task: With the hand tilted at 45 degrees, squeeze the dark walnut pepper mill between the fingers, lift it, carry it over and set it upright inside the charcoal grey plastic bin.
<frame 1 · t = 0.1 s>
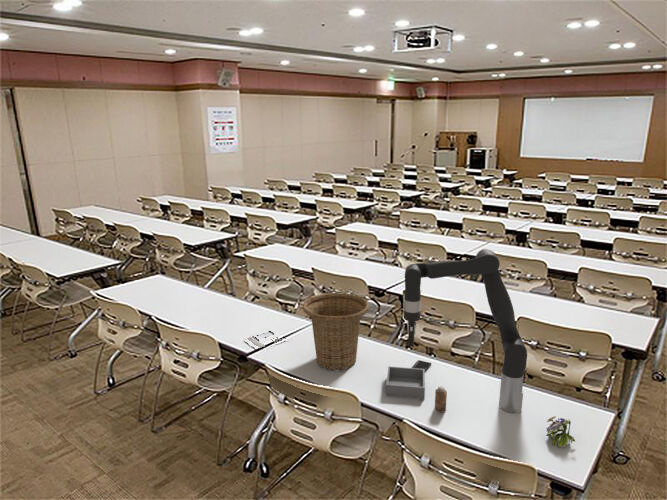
hand: (411, 342, 220), 29 cm above the table, tool pointing down, fingers open, 8 cm apart
office telephone: (266, 341, 292), on the table
wicker basket: (336, 361, 265), on the table
pepper mill: (440, 409, 220), on the table
passion flower: (559, 440, 198), on the table
phone: (420, 369, 256), on the table
bin: (405, 387, 238), on the table
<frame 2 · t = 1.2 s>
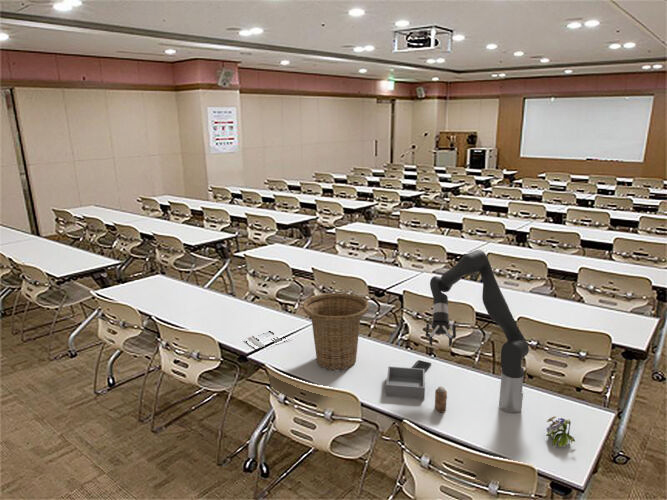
hand: (440, 345, 231), 22 cm above the table, tool tilted 45°, fingers open, 8 cm apart
nothing on the table moved.
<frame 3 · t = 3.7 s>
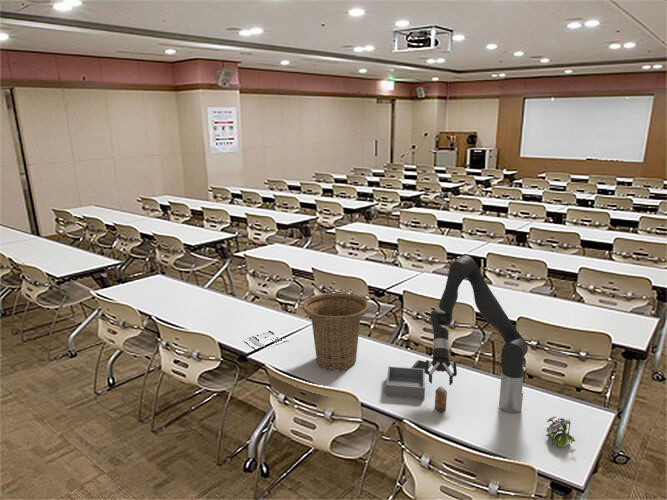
hand: (440, 384, 222), 10 cm above the table, tool tilted 45°, fingers open, 8 cm apart
nothing on the table moved.
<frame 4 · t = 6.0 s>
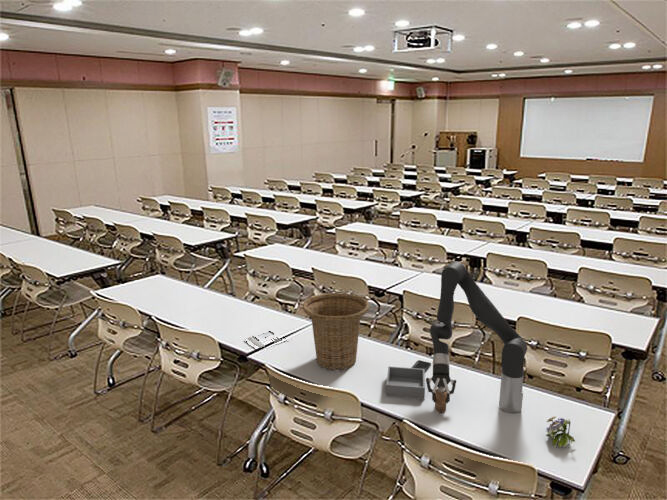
hand: (441, 402, 217), 5 cm above the table, tool tilted 45°, fingers closed on pepper mill, 5 cm apart
pepper mill: (440, 409, 220), on the table, touching gripper
everything else where it was.
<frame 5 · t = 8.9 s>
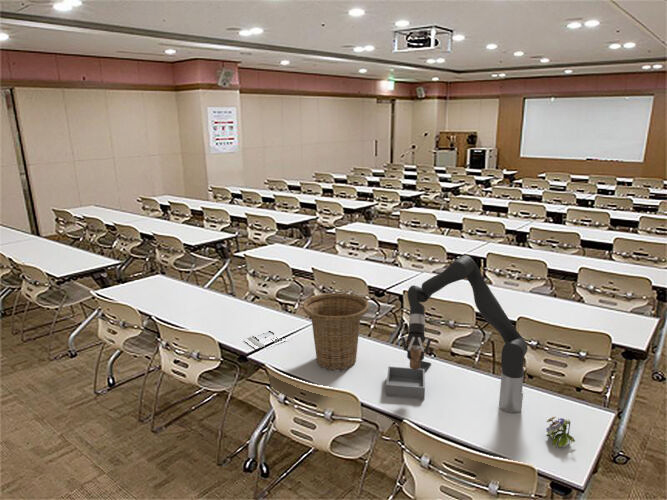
hand: (415, 359, 226), 19 cm above the table, tool tilted 45°, fingers closed on pepper mill, 5 cm apart
pepper mill: (414, 366, 229), point 14 cm above the table, touching gripper
everything else where it was.
when the fingers open (7 cm above the table, at t = 11.9 s): pepper mill drops 2 cm, resting on bin.
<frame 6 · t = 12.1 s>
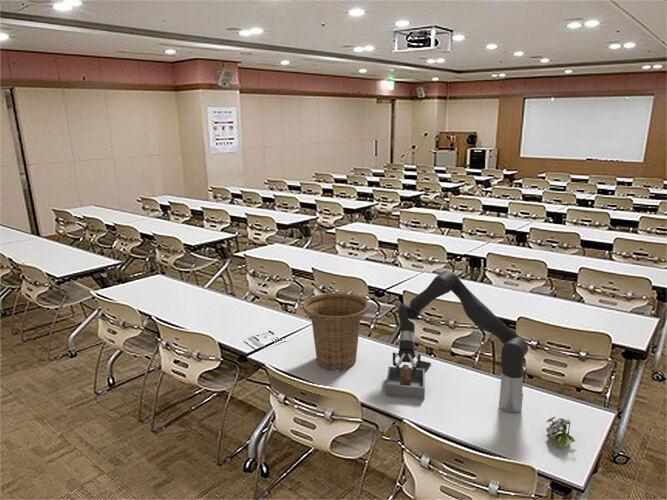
hand: (405, 374, 234), 8 cm above the table, tool tilted 45°, fingers open, 6 cm apart
pepper mill: (405, 385, 238), point 1 cm above the table, touching bin
everything else where it was.
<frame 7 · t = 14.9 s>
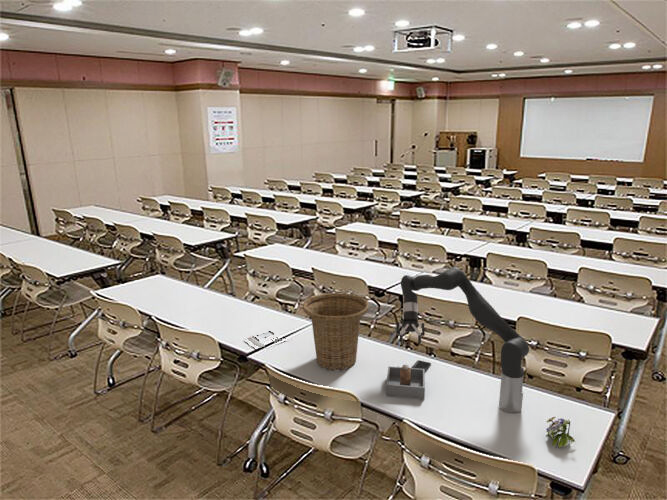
hand: (410, 343, 244), 18 cm above the table, tool tilted 40°, fingers open, 8 cm apart
nothing on the table moved.
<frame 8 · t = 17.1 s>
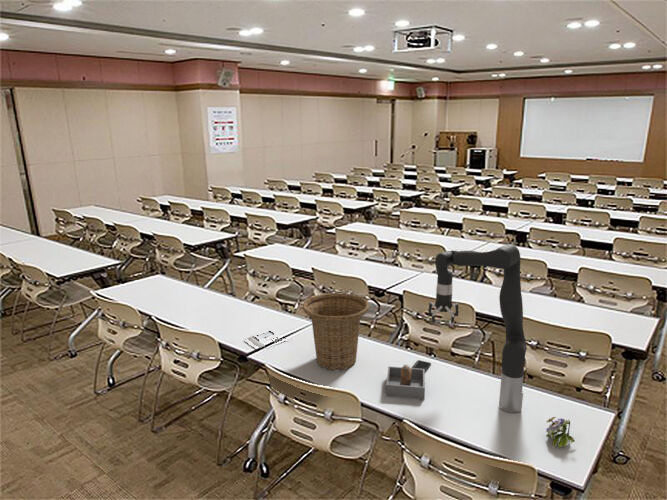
hand: (442, 322, 239), 30 cm above the table, tool pointing down, fingers open, 8 cm apart
nothing on the table moved.
at the end: pepper mill inside the target area on the bin (0.2 cm from its centre), point 1.1 cm above the bin's base; pepper mill tilted 2°; the gripper is holding nothing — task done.
